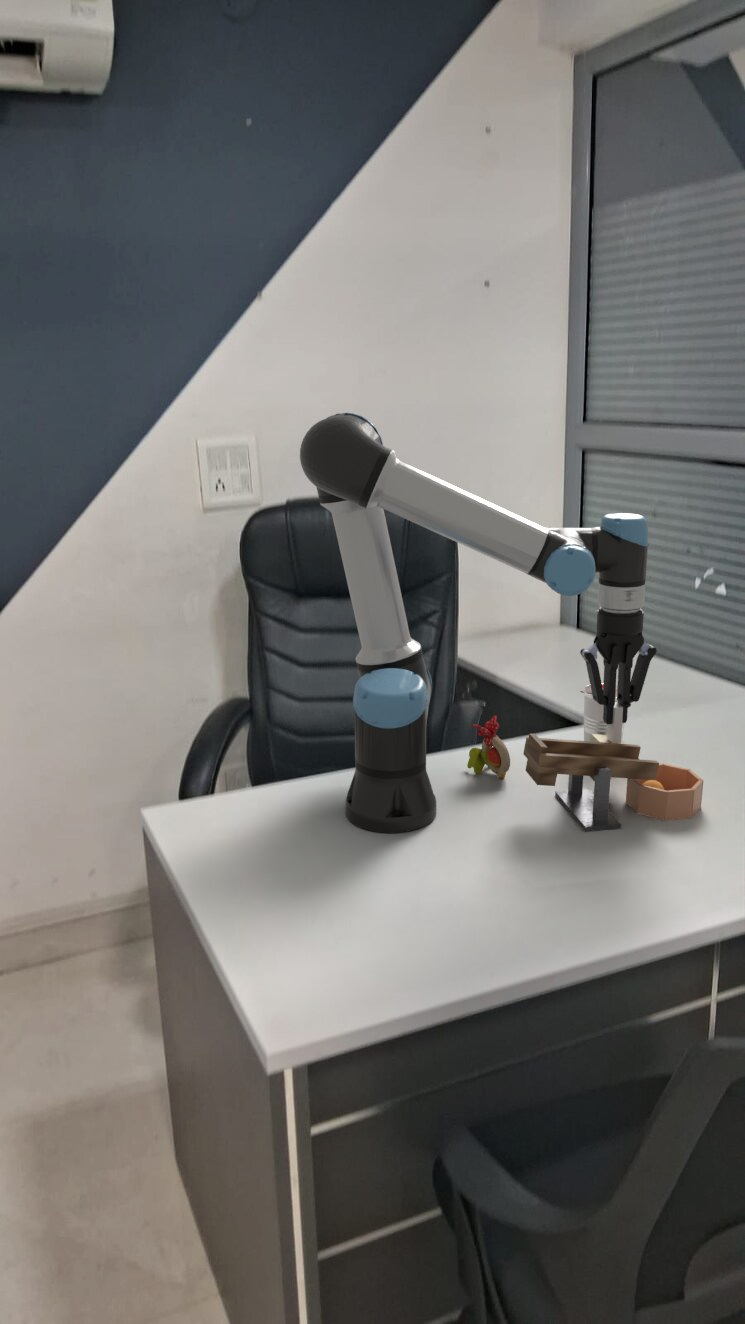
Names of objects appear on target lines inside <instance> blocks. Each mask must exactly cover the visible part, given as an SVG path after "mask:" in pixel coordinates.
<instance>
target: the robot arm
mask: <svg viewBox="0 0 745 1324" xmlns="http://www.w3.org/2000/svg"><path fill="white" fill-rule="evenodd" d="M383 443H384V442H383V438H382V436H381V434H380V433H379V431H378V429H377V428H376V427H375V425H374V424H373V423H372V422H370V421H369V420H368V419H367V418H366V417H364V416H362V415H360V414H355V413H350V412H343V413H336V414H333V415H330V416H327V417H326V418H323V419H321V420H319V421H318V422H316V423H314V424H313V425H312V426H311V427H310V428H309V429H308V431H307V432H306V433H305V435H304V437H303V438H302V441H301V445H300V448H299V461H300V466H301V468H302V470H303V473H304V475H305V477H306V478H307V479H308V481H310V482H311V484H312V485H313V486H315V487H316V491H317V496H318V500H319V503H320V506H321V507H323V508H325V509H326V510H328V511H329V512H330V513H331V517H332V519H333V520H332V521H333V525H334V529H335V533H336V534H335V535H336V538H337V543H338V546H339V547H338V548H339V553H340V556H341V560H342V561H341V562H342V566H343V569H344V573H345V579H346V583H347V588H348V592H349V597H350V600H351V606H352V609H353V613H354V619H355V623H356V627H357V632H358V637H359V641H360V645H361V649H360V650H359V652H358V653H357V654H356V657H355V663H356V667H357V672H358V676H359V678H358V680H357V682H356V683H355V685H354V693H353V697H352V705H353V709H354V760H355V762H354V764H355V769H354V773H353V777H352V778H351V779H352V780H351V782H350V785H349V789H348V791H347V795H346V798H345V816H346V818H347V820H348V821H349V822H350V823H351V824H352V825H354V826H356V827H358V828H361V829H364V830H367V831H371V832H376V833H377V832H378V833H387V834H389V833H394V834H395V833H405V832H411V831H415V830H419V829H420V828H423V827H425V826H427V825H429V824H431V823H432V822H433V821H434V820H435V819H436V816H437V798H436V795H435V794H434V790H433V787H432V784H431V780H430V777H429V774H428V771H427V725H428V724H427V721H428V714H429V707H430V701H431V698H432V693H433V692H432V691H433V681H432V675H431V673H430V672H429V671H430V670H429V669H428V667H427V666H426V662H425V658H424V654H423V650H422V645H421V643H420V642H418V641H417V640H415V639H414V638H412V637H411V634H410V630H409V624H408V619H407V616H406V615H407V614H406V609H405V606H404V601H403V597H402V592H401V586H400V581H399V577H398V572H397V568H396V563H395V557H394V553H393V549H392V548H393V547H392V543H391V538H390V534H389V530H388V524H387V520H386V519H387V518H386V515H385V511H387V512H390V513H392V514H393V515H396V516H398V517H401V518H403V519H405V520H407V521H410V522H412V523H414V524H416V525H418V526H420V527H422V528H425V529H427V530H429V531H431V532H434V533H436V534H438V535H440V536H441V537H445V538H447V539H449V540H451V541H454V542H456V543H458V544H460V545H462V546H464V547H466V548H469V549H470V550H471V549H472V550H474V551H475V552H478V553H480V554H482V555H484V556H487V557H489V558H491V559H494V560H496V561H498V562H500V563H503V564H505V565H506V566H509V567H511V568H513V569H515V570H518V571H520V572H522V573H524V574H526V575H528V576H530V577H532V578H534V579H536V580H538V581H541V582H543V583H544V584H546V585H547V586H548V587H549V588H550V589H551V590H552V591H554V592H555V593H557V594H559V595H561V596H567V597H573V596H578V595H580V594H582V593H584V592H586V591H587V590H588V589H589V588H590V587H591V585H592V584H593V583H594V580H595V576H596V574H598V575H599V576H598V590H597V605H598V606H599V608H598V609H597V611H596V614H597V615H596V616H597V617H596V635H595V637H594V639H593V644H592V645H590V646H589V647H588V648H582V649H580V651H579V653H580V655H581V656H582V658H583V660H584V661H585V666H586V671H587V675H588V681H589V685H590V686H591V691H592V695H593V699H594V700H595V701H596V702H597V703H599V704H600V705H604V708H603V720H604V722H605V723H606V724H607V739H608V740H609V741H611V742H612V743H621V736H622V723H624V724H626V723H627V721H628V713H629V711H628V709H629V708H630V707H631V706H632V703H636V702H638V701H639V700H640V697H641V695H642V691H643V687H644V684H645V680H646V678H647V674H648V671H649V668H650V664H651V661H652V659H653V658H654V657H655V655H656V654H657V650H658V649H657V648H656V647H655V646H653V645H651V644H650V643H646V642H645V638H644V635H643V629H644V617H645V616H644V615H645V612H644V610H643V609H642V608H643V607H644V606H645V597H646V577H647V576H646V575H647V563H648V551H649V550H648V549H649V523H648V519H646V517H645V516H643V515H641V514H636V513H631V512H629V513H628V512H627V513H626V512H624V513H623V512H619V513H617V512H616V513H608V514H605V515H604V516H602V517H601V520H600V524H599V526H595V527H551V526H545V527H544V526H542V525H539V524H538V523H536V522H533V521H531V520H528V518H527V519H526V518H524V517H522V516H520V515H518V514H516V513H514V512H512V511H509V510H507V509H506V508H503V507H501V506H499V505H496V504H494V503H492V502H490V501H487V500H485V499H483V498H482V497H479V496H477V495H475V494H473V493H470V492H468V491H466V490H463V488H460V487H457V486H456V485H453V484H451V483H449V482H447V481H445V480H442V479H441V478H439V477H436V476H433V475H431V474H430V473H427V472H425V471H423V470H420V469H418V468H416V467H414V466H413V465H409V464H407V463H405V462H403V461H400V459H398V457H397V454H396V452H395V450H393V449H391V448H389V447H387V446H385V445H384V444H383ZM598 653H599V654H600V656H601V657H602V658H603V670H604V671H603V688H602V678H601V674H600V667H599V663H598V661H597V659H598ZM637 654H638V655H637ZM636 655H637V658H636V662H635V665H634V669H633V672H632V668H633V662H634V658H635V657H636ZM616 685H618V687H617V701H618V703H617V702H615V692H616ZM622 737H623V736H622Z"/></svg>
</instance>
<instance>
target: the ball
mask: <svg viewBox="0 0 745 1324" xmlns="http://www.w3.org/2000/svg"><path fill="white" fill-rule="evenodd" d="M642 785H646V786H650V787H654V788H659V789H663V790H664V787H663V786H662V784H661V783H659V782H658V781H655V780H649V781H646V782H645V783H643V784H642Z"/></svg>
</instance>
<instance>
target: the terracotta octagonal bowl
mask: <svg viewBox="0 0 745 1324" xmlns="http://www.w3.org/2000/svg"><path fill="white" fill-rule="evenodd" d="M626 779H627V780H626V791H625V792H626V793H625V795H626V796H625V802H626V803H627V804H628V805H629V806H630V807H631V808H632V809H633V811H635V812H636V814H637V815H638V814H639V815H641V816H647V817H649V818H650V817H651V818H654V819H658V820H661V821H670V820H672V821H673V820H683V819H684V820H685V819H693V817H694V816H695V815H696V814H697V813H698V811H699V810H701V808H702V803H703V802H702V800H703V788H704V779H702V778H701V777H700V776H699V775H697V774H696V773H695V772H694V771H692V770H691V768H687V767H681V766H676V765H672V764H667V763H659V766H658V771H657V775H656V779H655V781H658V782H659V783H661V784H662V786H663V787H664V790H663V789H659V788H654V787H650V786H646V785H642V784H643V783H645V782H646V781H649V780H645V779H629V778H626Z"/></svg>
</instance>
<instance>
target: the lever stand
mask: <svg viewBox="0 0 745 1324" xmlns="http://www.w3.org/2000/svg"><path fill="white" fill-rule="evenodd" d="M611 779H612V777H611V769H610V768H609V767H608V766H605V767H595V782H593V783H594V786H593V792H592V790H590V788H583V786H584V776H581V775H568V782H567V783H568V784H567V785H568V786H567V790H555V791H554V792H555V794H554V795H555V797H556V799H557V800H559V802H560V803H561V805H562V806H563V807H564V808H565V809H566V810H567V812H568V813H569V814H570V815H571V817H572V818H573V819H574V820H575V821H576V823H577V824H578V825H579V826H580V827H581V829H583V831H584V832H585V833H588V832H589V833H590V832H598V831H599V832H600V831H610V830H617V829H618V830H620V829H622V823H621V822H620V821H619V819H618V818H616V816H615V815H614V814H613V813H612V812H611V811H610V810H609V808H610V806H609V805H610V792H611V790H610V789H611Z"/></svg>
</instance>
